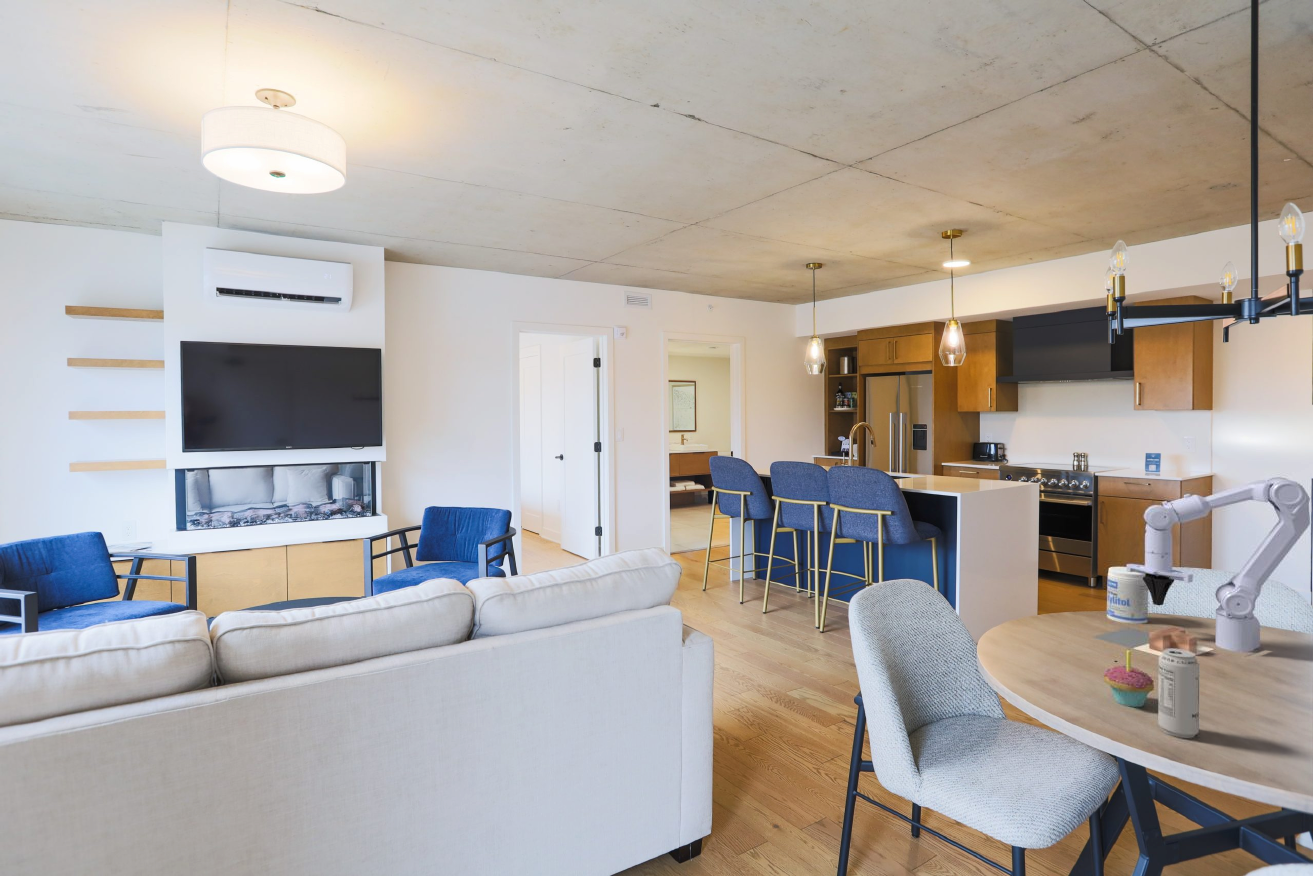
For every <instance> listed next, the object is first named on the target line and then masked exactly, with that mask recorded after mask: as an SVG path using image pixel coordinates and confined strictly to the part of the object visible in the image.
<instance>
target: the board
mask: <svg viewBox="0 0 1313 876" xmlns="http://www.w3.org/2000/svg"><path fill="white" fill-rule="evenodd" d="M1149 633H1150V632H1148V631H1144V630H1139V629H1135V628H1131V627H1124V628H1120V629H1117V630H1113V631H1109V632H1106V633H1101V634H1097V635H1094V636H1092V638H1094V639H1097V640H1101V641H1106V642H1107V643H1108V642H1109V643H1113V644H1116V645H1120V646H1124V647H1126V648H1128V647H1129V648H1131V649H1134V650H1137V651H1142V652H1145V653H1149V654H1152V655H1156V656H1158V657H1160V655H1161V654H1162V653H1163V652H1159V651H1156V650H1152V649H1149ZM1213 650H1215V648H1211V647H1208V646H1203V645H1199V644H1197V653H1194V654H1195V656H1197V655H1202V654H1204V653H1207V652H1210V651H1213Z"/></svg>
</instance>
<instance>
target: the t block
mask: <svg viewBox="0 0 1313 876" xmlns="http://www.w3.org/2000/svg"><path fill="white" fill-rule="evenodd" d="M1148 633H1149V649H1152V650H1156V651H1159V652H1163V649H1165V648H1176V649H1182V650H1187V651H1190V652H1192V653H1197V645H1198V643H1197V642H1198V640H1197V639H1198V636H1197V635H1192V634H1189V633H1186V629H1184V628H1179V627H1176V626H1169V627H1165V628H1162V629H1158V630H1154V631H1150V632H1148Z"/></svg>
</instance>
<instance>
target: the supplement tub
mask: <svg viewBox="0 0 1313 876" xmlns="http://www.w3.org/2000/svg"><path fill="white" fill-rule="evenodd" d="M1107 572H1108V573H1107V587H1106V588H1107V591H1106V617H1107V619H1109V620H1112V621H1115V622H1119V623H1123V624H1132V625H1133V624H1134V625H1135V624H1136V625H1137V624H1138V625H1140V624H1141V625H1143V624H1146V623H1148V618H1149V616H1148V615H1149V614H1148V612H1149V589H1148V587H1147V585H1146V584H1145V582H1144V581H1143V577H1145V574H1141V573H1136V572H1127V566H1111V567H1109V568H1108V571H1107Z"/></svg>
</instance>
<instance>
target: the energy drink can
mask: <svg viewBox="0 0 1313 876" xmlns="http://www.w3.org/2000/svg"><path fill="white" fill-rule="evenodd" d="M1157 680H1158V687H1157V688H1158V702H1157V703H1158V707H1157V708H1158V709H1157V710H1158V711H1157V712H1158V715H1157V716H1158V720H1157V723H1158V725H1159V726H1160V727H1161V730H1162V731H1163V732H1164V733H1165V734H1167V735H1170V736H1172V737H1176V738H1181V739H1193V738H1195V737H1196V735H1197V734H1199V732H1200V663H1199V662H1198V660H1197V658H1196V655H1195V654H1194V653H1192V652H1190V651H1187V650H1182V649H1176V648H1165V649H1163V653H1162V654H1161V655H1160V656H1158V679H1157Z"/></svg>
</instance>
